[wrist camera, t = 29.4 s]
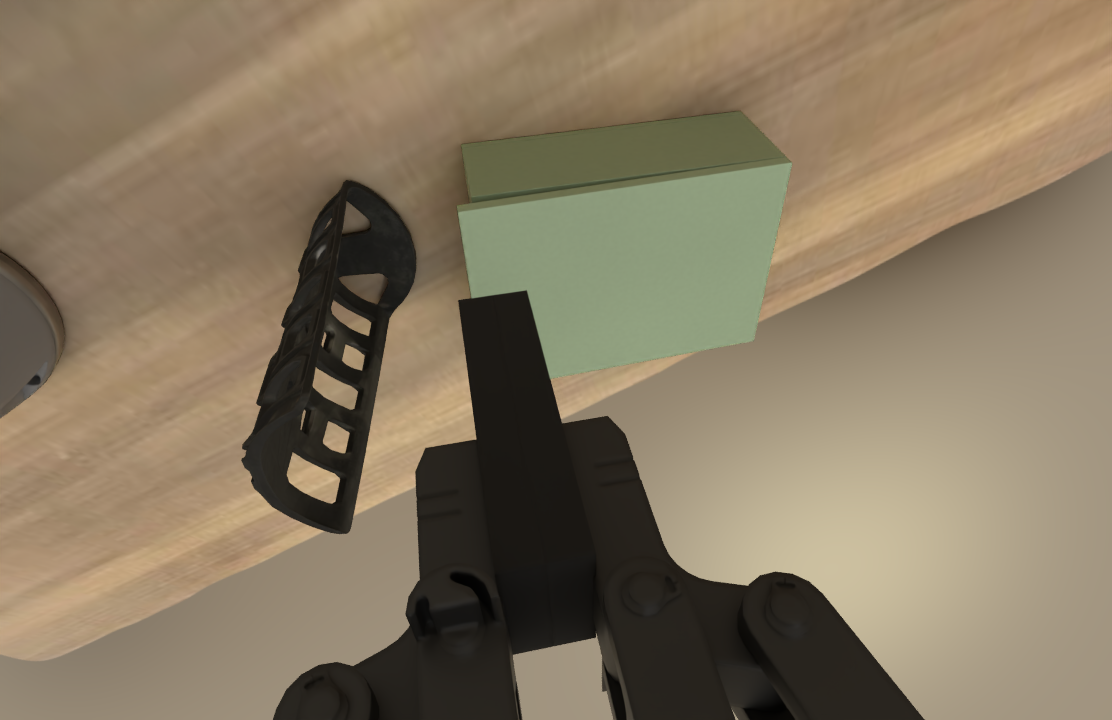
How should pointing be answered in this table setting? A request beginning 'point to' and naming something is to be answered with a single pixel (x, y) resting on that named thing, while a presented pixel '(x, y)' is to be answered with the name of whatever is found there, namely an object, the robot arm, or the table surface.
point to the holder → (329, 359)
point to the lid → (633, 262)
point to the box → (611, 155)
